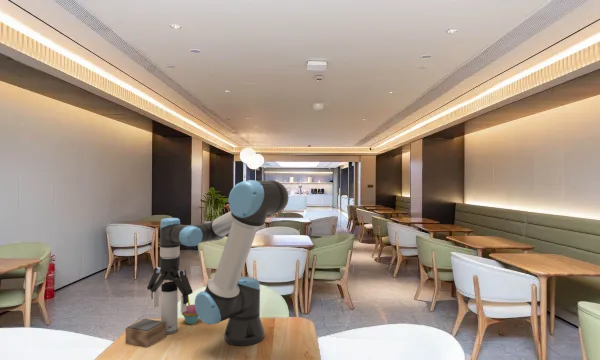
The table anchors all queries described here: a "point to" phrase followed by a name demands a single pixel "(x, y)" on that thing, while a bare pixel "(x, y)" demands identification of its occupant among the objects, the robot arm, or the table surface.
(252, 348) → the table surface
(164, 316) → the travel mug
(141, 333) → the walnut stand
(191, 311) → the cupcake
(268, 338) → the table surface
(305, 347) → the table surface
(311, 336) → the table surface
